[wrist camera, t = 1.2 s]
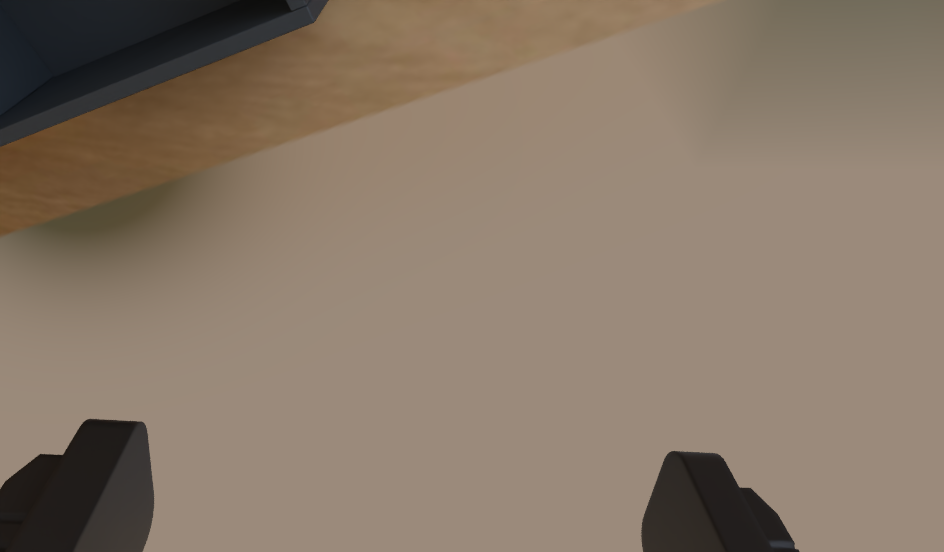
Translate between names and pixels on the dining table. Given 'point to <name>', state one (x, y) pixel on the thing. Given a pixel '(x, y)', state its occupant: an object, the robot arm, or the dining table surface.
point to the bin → (119, 49)
